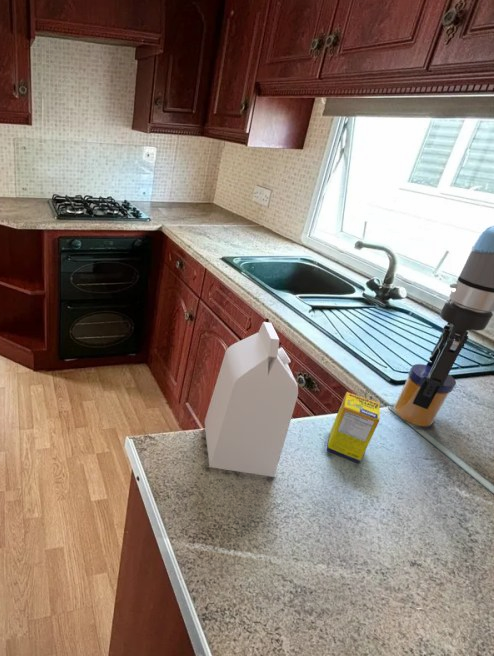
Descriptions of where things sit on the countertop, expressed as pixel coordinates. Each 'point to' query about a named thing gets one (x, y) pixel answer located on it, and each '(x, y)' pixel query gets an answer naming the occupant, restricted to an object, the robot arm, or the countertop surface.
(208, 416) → the milk
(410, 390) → the jar
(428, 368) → the lid
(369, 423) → the supplement box
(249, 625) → the countertop surface
